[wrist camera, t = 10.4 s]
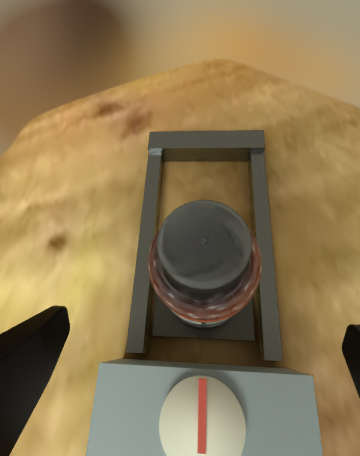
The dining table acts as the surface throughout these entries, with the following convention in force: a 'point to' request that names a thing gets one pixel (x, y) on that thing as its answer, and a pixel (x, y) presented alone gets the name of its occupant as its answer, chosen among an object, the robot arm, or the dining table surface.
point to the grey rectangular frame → (266, 291)
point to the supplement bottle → (204, 263)
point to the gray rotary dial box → (202, 410)
